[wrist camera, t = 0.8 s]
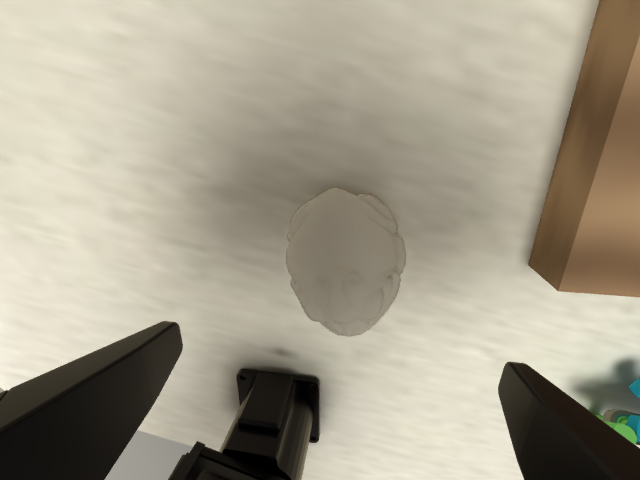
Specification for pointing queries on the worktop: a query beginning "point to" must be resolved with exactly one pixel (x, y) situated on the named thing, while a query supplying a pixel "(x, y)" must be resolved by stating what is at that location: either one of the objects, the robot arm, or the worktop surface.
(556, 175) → the walnut block
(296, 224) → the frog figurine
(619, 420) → the gear
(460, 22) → the worktop surface
